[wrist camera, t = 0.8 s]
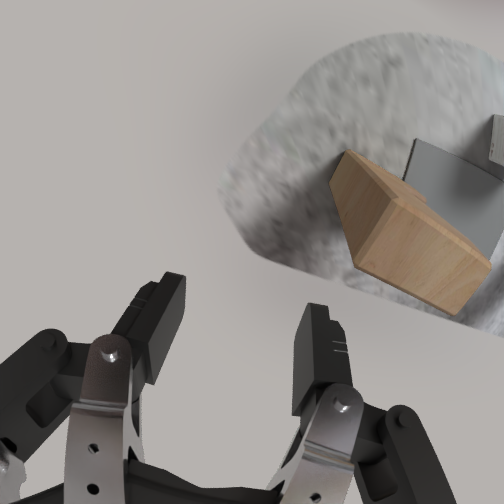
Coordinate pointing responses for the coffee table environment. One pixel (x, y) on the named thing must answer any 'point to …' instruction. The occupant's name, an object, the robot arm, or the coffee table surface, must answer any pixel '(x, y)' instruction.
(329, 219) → the coffee table surface
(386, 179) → the decorative block
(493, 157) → the supplement box
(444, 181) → the mat
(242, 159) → the coffee table surface
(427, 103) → the coffee table surface
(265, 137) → the coffee table surface
